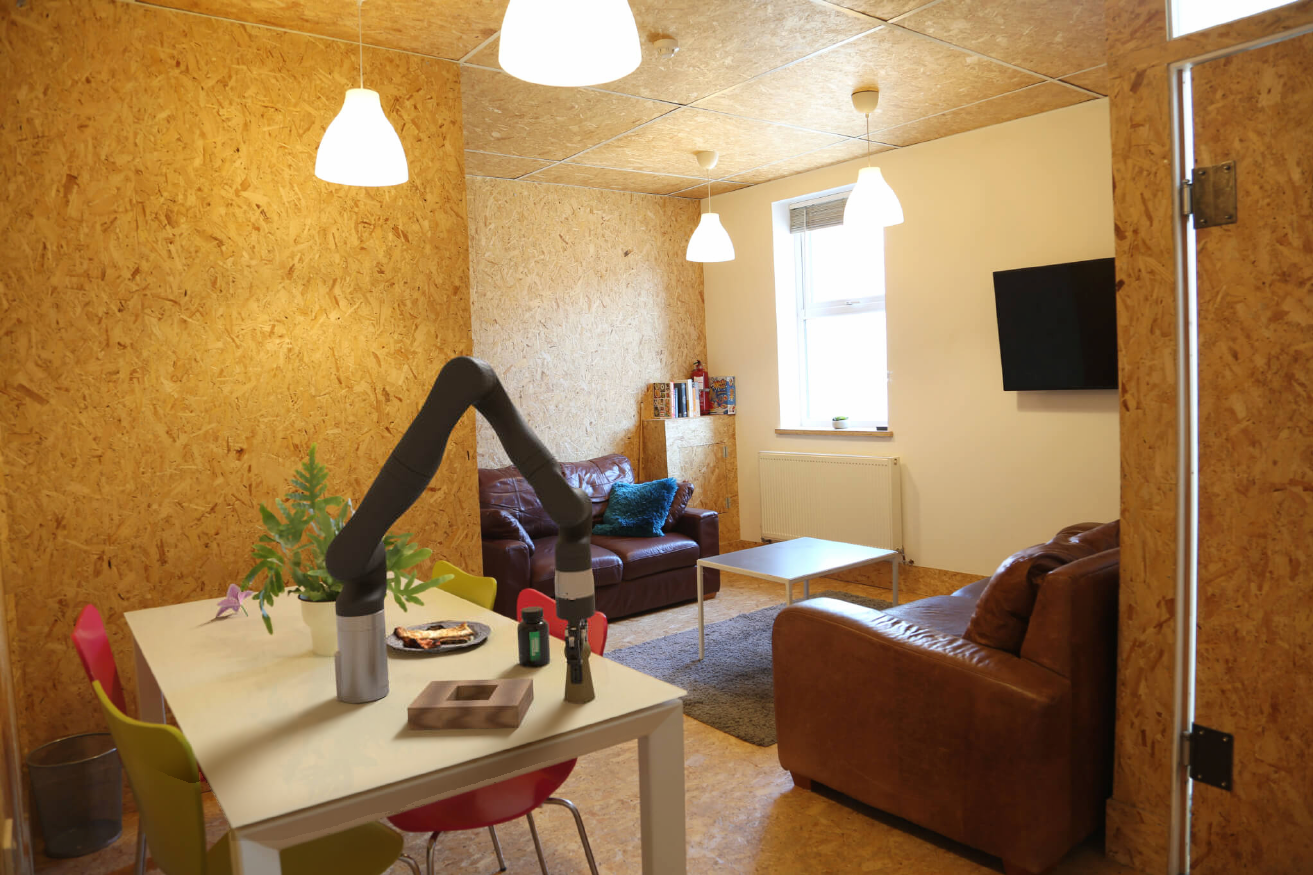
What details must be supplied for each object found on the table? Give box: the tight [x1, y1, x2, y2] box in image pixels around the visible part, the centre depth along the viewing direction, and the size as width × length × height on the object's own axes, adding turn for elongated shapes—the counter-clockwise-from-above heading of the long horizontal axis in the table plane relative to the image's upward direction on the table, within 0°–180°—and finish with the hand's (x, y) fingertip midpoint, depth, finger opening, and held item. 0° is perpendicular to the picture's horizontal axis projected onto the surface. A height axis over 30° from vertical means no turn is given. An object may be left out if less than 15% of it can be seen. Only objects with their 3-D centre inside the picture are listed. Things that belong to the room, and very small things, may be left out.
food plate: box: [386, 619, 492, 654], centre depth 207 cm, size 25×23×4 cm
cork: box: [563, 641, 596, 704], centre depth 165 cm, size 6×6×11 cm
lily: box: [215, 581, 255, 619], centre depth 241 cm, size 12×12×10 cm
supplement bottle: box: [516, 606, 551, 668], centre depth 188 cm, size 7×7×12 cm
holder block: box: [407, 678, 535, 731], centre depth 159 cm, size 20×14×4 cm
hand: (578, 678), depth 165 cm, fingers closed on cork, 4 cm apart
